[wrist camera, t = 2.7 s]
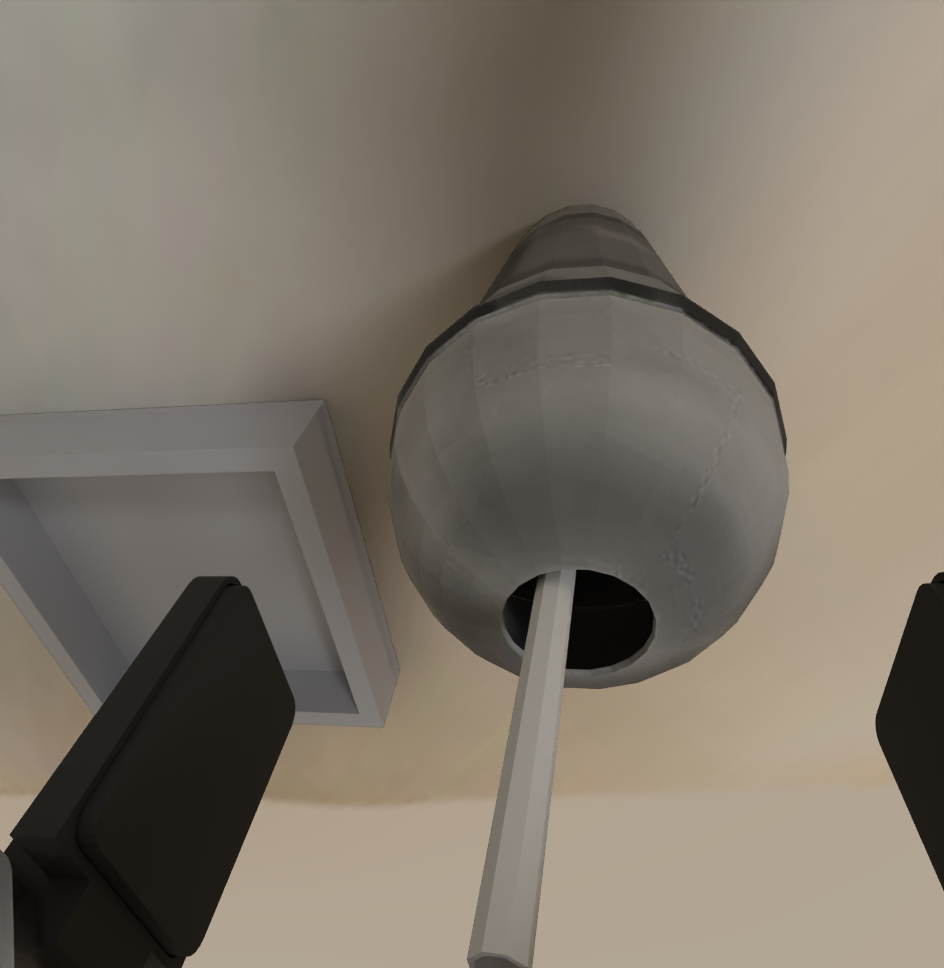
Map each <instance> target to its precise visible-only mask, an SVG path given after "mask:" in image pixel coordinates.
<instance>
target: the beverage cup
mask: <svg viewBox="0 0 944 968" xmlns="http://www.w3.org/2000/svg"><path fill="white" fill-rule="evenodd" d="M786 444H787V438H786V433H785V429H784V424H783V419H782V415H781V410H780V405H779V401H778V396H777V391H776V387H775V383H774V381H773V380H772V378H771V377H770V376H769V374H768V373H767V371H766V370H765V368H764V367H763V366H762V364H761V363H760V361H759V360H758V359H757V357H756V356H755V354H754V353H753V351H752V350H751V349H750V347H749V346H748V344H747V343H746V342H745V340H744V339H743V337H742V336H741V334H740V333H739V332H738V331H736V330H735V329H733V328H732V327H730V326H729V325H727V324H726V323H724V322H723V321H721V320H720V319H718V318H717V317H715V316H714V315H712V314H711V313H709V312H708V311H706V310H705V309H703V308H702V307H700V306H699V305H697V304H696V303H694V302H693V301H691V300H690V299H688V298H687V297H686V295H685V294H684V292H683V291H682V290H681V288H680V287H679V285H678V284H677V282H676V281H675V280H674V278H673V277H672V275H671V274H670V272H669V271H668V269H667V268H666V267H665V265H664V264H663V262H662V261H661V259H660V258H659V256H658V255H657V254H656V252H655V251H654V249H653V248H652V247H651V245H650V244H649V242H648V241H647V240H646V238H645V237H644V236H643V234H642V233H641V231H640V230H638V229H637V228H635V227H634V225H633V224H632V223H631V222H630V221H628V220H627V219H625V218H624V217H622V216H621V215H619V214H618V213H616V212H615V211H613V210H610V209H606V208H602V207H598V206H594V205H581V206H568V207H566V208H563V209H561V210H559V211H556V212H554V213H552V214H549V215H547V216H546V217H545V218H543V219H542V220H541V221H540V222H539V223H538V224H537V225H535V226H534V227H533V228H532V229H531V230H530V231H529V232H528V234H527V235H526V236H525V237H523V238H522V239H521V240H520V242H519V244H518V245H517V247H516V248H515V250H514V251H513V253H512V254H511V256H510V257H509V259H508V261H507V262H506V264H505V265H504V267H503V268H502V270H501V271H500V273H499V274H498V276H497V278H496V279H495V281H494V282H493V284H492V285H491V287H490V288H489V290H488V291H487V293H486V295H485V296H484V298H483V299H482V301H481V302H480V304H479V305H477V306H474V307H473V308H472V309H471V310H470V311H468V312H467V313H466V314H465V315H464V316H462V317H461V318H460V319H459V320H458V321H456V322H455V323H454V324H453V325H452V326H450V327H449V328H448V329H447V330H446V331H445V332H443V333H442V334H441V335H440V336H439V337H437V338H436V339H435V340H434V341H433V342H431V343H430V344H429V345H428V346H427V347H426V348H425V350H424V352H423V353H422V355H421V357H420V359H419V360H418V362H417V364H416V365H415V367H414V369H413V371H412V372H411V374H410V376H409V378H408V379H407V381H406V383H405V384H404V386H403V388H402V390H401V391H400V393H399V395H398V399H397V405H396V412H395V418H394V424H393V430H392V437H391V443H390V459H391V461H390V467H389V474H388V490H387V497H388V502H389V506H390V511H391V516H392V521H393V525H394V530H395V534H396V539H397V543H398V548H399V552H400V557H401V561H402V563H403V565H404V567H405V569H406V571H407V573H408V575H409V577H410V579H411V581H412V582H413V584H414V585H415V587H416V588H417V590H418V592H419V593H420V595H421V596H422V598H423V599H424V601H425V603H426V604H427V606H428V607H429V609H430V610H431V612H432V614H433V615H434V616H435V617H436V618H437V619H438V621H439V622H440V623H441V624H442V625H443V626H444V627H445V628H446V629H447V630H448V631H449V632H450V633H452V634H453V635H454V636H455V637H456V638H457V639H459V640H460V641H461V642H462V643H463V644H464V645H466V646H467V647H468V648H469V649H470V650H471V651H473V652H474V653H475V654H476V655H478V656H480V657H482V658H484V659H485V660H487V661H489V662H491V663H493V664H495V665H497V666H499V667H501V668H503V669H505V670H507V671H509V672H511V673H513V674H515V675H517V676H519V682H518V687H517V693H516V698H515V704H514V709H513V714H512V720H511V725H510V730H509V736H508V741H507V747H506V752H505V757H504V763H503V768H502V774H501V779H500V784H499V790H498V795H497V800H496V807H495V812H494V817H493V822H492V827H491V833H490V838H489V844H488V849H487V854H486V860H485V865H484V871H483V876H482V881H481V887H480V892H479V897H478V903H477V908H476V913H475V919H474V924H473V930H472V936H471V940H470V946H469V951H468V957H467V961H468V964H469V967H470V968H532V964H533V955H534V946H535V936H536V928H537V919H538V910H539V901H540V892H541V883H542V874H543V864H544V856H545V847H546V838H547V829H548V828H547V827H548V820H549V811H550V802H551V793H552V784H553V775H554V766H555V757H556V748H557V739H558V730H559V721H560V712H561V703H562V694H563V687H566V688H589V689H602V688H608V687H614V686H621V685H627V684H633V683H639V682H641V681H643V680H646V679H648V678H651V677H653V676H656V675H658V674H661V673H663V672H666V671H668V670H670V669H673V668H675V667H678V666H680V665H682V664H685V663H687V662H689V661H690V660H692V659H693V658H694V657H695V656H697V655H698V654H699V653H701V652H702V651H703V650H705V649H706V648H707V647H709V646H710V645H711V644H712V643H714V642H715V641H716V640H718V639H719V638H720V637H722V636H723V635H724V634H725V633H726V632H727V631H728V630H729V629H730V628H731V627H732V626H733V625H734V624H735V623H737V621H738V620H739V618H740V617H741V615H742V614H743V612H744V611H745V609H746V608H747V606H748V605H749V603H750V602H751V600H752V599H753V597H754V596H755V594H756V593H757V591H758V590H759V588H760V587H761V585H762V584H763V582H764V580H765V578H766V577H767V575H768V573H769V571H770V570H771V568H772V566H773V564H774V560H775V556H776V552H777V548H778V544H779V539H780V534H781V529H782V524H783V520H784V515H785V510H786V505H787V500H788V495H789V479H788V468H787V463H786V459H785V455H786Z"/></svg>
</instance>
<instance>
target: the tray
mask: <svg viewBox="0 0 944 968" xmlns="http://www.w3.org/2000/svg"><path fill="white" fill-rule="evenodd" d="M198 576H234V577H236V578H237V579H238V580H239V581H240V583H241V584H242V586H247V587H248V588H249V589H250V590H251V592H252V595H253V597H254V600H255V602H256V604H257V607H258V609H259V612H260V614H261V617H262V619H263V622H264V624H265V627H266V629H267V632H268V634H269V637H270V639H271V642H272V644H273V647H274V649H275V652H276V654H277V656H278V659H279V661H280V664H281V666H282V669H283V671H284V674H285V676H286V679H287V681H288V684H289V686H290V689H291V691H292V694H293V696H294V699H295V706H296V708H295V717H294V721H293V724H310V725H332V726H353V727H375V728H384V724H385V721H386V717H387V714H388V710H389V707H390V703H391V700H392V696H393V692H394V689H395V685H396V682H397V678H398V675H399V671H400V669H399V665H398V662H397V658H396V655H395V651H394V647H393V644H392V640H391V637H390V633H389V629H388V626H387V622H386V619H385V615H384V611H383V608H382V604H381V600H380V597H379V593H378V590H377V586H376V582H375V579H374V575H373V572H372V568H371V564H370V561H369V557H368V554H367V550H366V546H365V543H364V539H363V536H362V532H361V528H360V525H359V521H358V518H357V514H356V510H355V507H354V503H353V500H352V496H351V492H350V489H349V485H348V482H347V478H346V474H345V471H344V467H343V463H342V460H341V456H340V453H339V449H338V445H337V442H336V438H335V435H334V431H333V427H332V424H331V420H330V417H329V413H328V409H327V406H326V402H325V400H304V401H284V402H264V403H243V404H223V405H203V406H182V407H162V408H142V409H121V410H101V411H81V412H60V413H40V414H20V415H0V584H1V585H2V587H3V588H4V589H5V591H6V592H7V594H8V595H9V596H10V598H11V599H12V601H13V602H14V603H15V605H16V606H17V608H18V609H19V610H20V612H21V613H22V615H23V616H24V617H25V619H26V620H27V622H28V623H29V624H30V626H31V627H32V629H33V630H34V632H35V633H36V634H37V636H38V637H39V639H40V640H41V641H42V643H43V644H44V646H45V647H46V648H47V650H48V651H49V653H50V654H51V655H52V657H53V658H54V660H55V661H56V662H57V664H58V665H59V667H60V668H61V669H62V671H63V672H64V674H65V675H66V677H67V678H68V679H69V681H70V682H71V684H72V685H73V686H74V688H75V689H76V691H77V692H78V693H79V695H80V696H81V698H82V699H83V700H84V702H85V703H86V705H87V706H88V707H89V709H90V710H91V712H92V713H93V714H96V713H97V712H98V710H99V709H100V707H101V706H102V705H103V703H104V702H105V700H106V699H107V698H108V696H109V695H110V693H111V692H112V691H113V689H114V688H115V686H116V685H117V684H118V682H119V681H120V679H121V678H122V677H123V675H124V674H125V672H126V671H127V670H128V668H129V667H130V665H131V664H132V663H133V661H134V660H135V658H136V657H137V656H138V654H139V653H140V651H141V650H142V649H143V647H144V646H145V644H146V643H147V642H148V640H149V639H150V637H151V636H152V634H153V633H154V632H155V630H156V629H157V627H158V626H159V625H160V623H161V622H162V620H163V619H164V618H165V616H166V615H167V613H168V612H169V611H170V609H171V608H172V606H173V605H174V604H175V602H176V601H177V599H178V598H179V597H180V595H181V594H182V592H183V591H184V590H185V588H186V587H187V585H188V584H189V583H190V582H191V581H192V580H193V579H194V578H196V577H198Z"/></svg>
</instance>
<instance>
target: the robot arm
mask: <svg viewBox="0 0 944 968" xmlns="http://www.w3.org/2000/svg"><path fill="white" fill-rule="evenodd" d="M295 708H296V706H295V699H294V696H293V694H292V691H291V689H290V686H289V684H288V681H287V679H286V676H285V674H284V671H283V669H282V666H281V664H280V661H279V659H278V656H277V654H276V652H275V649H274V647H273V644H272V642H271V639H270V637H269V634H268V632H267V629H266V627H265V624H264V622H263V619H262V617H261V614H260V612H259V609H258V607H257V604H256V602H255V600H254V597H253V595H252V592H251V590H250V589H249V588H248V587H247V586H242V584H241V583H240V581H239V580H238V579H237V578H236V577H234V576H198V577H196V578H194V579H193V580H192V581H191V582H190V583H189V584H188V585H187V587H186V588H185V590H184V591H183V592H182V594H181V595H180V597H179V598H178V599H177V601H176V602H175V604H174V605H173V606H172V608H171V609H170V611H169V612H168V613H167V615H166V616H165V618H164V619H163V620H162V622H161V623H160V625H159V626H158V627H157V629H156V630H155V632H154V633H153V634H152V636H151V637H150V639H149V640H148V642H147V643H146V644H145V646H144V647H143V649H142V650H141V651H140V653H139V654H138V656H137V657H136V658H135V660H134V661H133V663H132V664H131V665H130V667H129V668H128V670H127V671H126V672H125V674H124V675H123V677H122V678H121V679H120V681H119V682H118V684H117V685H116V686H115V688H114V689H113V691H112V692H111V693H110V695H109V696H108V698H107V699H106V700H105V702H104V703H103V705H102V706H101V707H100V709H99V710H98V712H97V713H96V714H95V716H94V717H93V719H92V720H91V721H90V723H89V724H88V726H87V727H86V728H85V730H84V731H83V733H82V734H81V735H80V737H79V738H78V740H77V741H76V742H75V744H74V745H73V747H72V748H71V749H70V751H69V752H68V754H67V755H66V756H65V758H64V759H63V761H62V762H61V763H60V765H59V766H58V768H57V769H56V770H55V772H54V773H53V775H52V776H51V777H50V779H49V780H48V782H47V783H46V784H45V786H44V787H43V789H42V790H41V791H40V793H39V794H38V796H37V797H36V798H35V800H34V801H33V803H32V804H31V805H30V807H29V808H28V810H27V811H26V812H25V814H24V815H23V817H22V818H21V819H20V821H19V822H18V824H17V825H16V826H15V828H14V829H13V831H12V832H11V833H10V836H11V837H12V838H13V840H12V842H11V843H10V845H9V846H8V847H7V849H6V850H5V852H4V853H3V852H2V851H1V850H0V968H182V965H183V963H184V961H185V958H186V957H188V956H191V955H193V954H194V953H195V952H196V951H197V949H198V947H200V945H201V943H202V941H203V939H204V937H205V934H206V931H207V929H208V927H209V924H210V922H211V920H212V917H213V915H214V912H215V910H216V908H217V905H218V902H219V900H220V898H221V895H222V893H223V890H224V888H225V886H226V883H227V881H228V879H229V876H230V873H231V871H232V869H233V866H234V864H235V862H236V859H237V857H238V854H239V852H240V849H241V847H242V845H243V842H244V840H245V837H246V835H247V832H248V830H249V828H250V825H251V823H252V820H253V818H254V816H255V813H256V811H257V808H258V806H259V804H260V801H261V799H262V796H263V794H264V792H265V789H266V787H267V784H268V782H269V779H270V777H271V775H272V772H273V770H274V767H275V765H276V763H277V760H278V758H279V755H280V753H281V750H282V748H283V746H284V743H285V741H286V738H287V736H288V734H289V731H290V729H291V726H292V724H293V721H294V717H295ZM876 733H877V737H878V741H879V743H880V746H881V748H882V751H883V753H884V755H885V757H886V760H887V762H888V764H889V767H890V769H891V771H892V773H893V776H894V778H895V780H896V783H897V785H898V787H899V790H900V792H901V794H902V796H903V799H904V801H905V803H906V806H907V808H908V810H909V812H910V815H911V817H912V819H913V821H914V824H915V826H916V828H917V831H918V833H919V835H920V838H921V840H922V842H923V844H924V847H925V849H926V851H927V854H928V856H929V858H930V860H931V863H932V865H933V867H934V870H935V872H936V874H937V876H938V879H939V881H940V883H941V886H942V888H943V890H944V572H941V573H938V574H937V575H935V576H934V578H933V580H932V582H931V583H926V584H922V585H921V586H920V587H919V589H918V591H917V593H916V596H915V599H914V602H913V605H912V608H911V611H910V614H909V617H908V620H907V623H906V626H905V629H904V632H903V635H902V638H901V642H900V645H899V648H898V651H897V654H896V657H895V660H894V663H893V666H892V669H891V672H890V675H889V678H888V681H887V684H886V687H885V690H884V693H883V696H882V699H881V702H880V705H879V708H878V711H877V714H876Z"/></svg>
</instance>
